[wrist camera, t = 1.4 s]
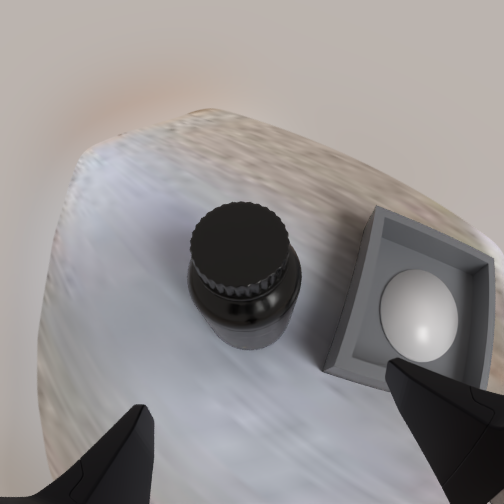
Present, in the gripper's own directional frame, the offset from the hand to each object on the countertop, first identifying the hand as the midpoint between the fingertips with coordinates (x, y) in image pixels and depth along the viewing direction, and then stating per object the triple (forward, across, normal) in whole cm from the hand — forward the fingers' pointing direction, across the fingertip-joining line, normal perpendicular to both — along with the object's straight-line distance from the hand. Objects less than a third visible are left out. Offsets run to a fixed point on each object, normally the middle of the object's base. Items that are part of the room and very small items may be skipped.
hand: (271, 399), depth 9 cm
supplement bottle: (+14, 0, +4) cm, 15 cm away
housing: (+12, -15, +7) cm, 20 cm away
